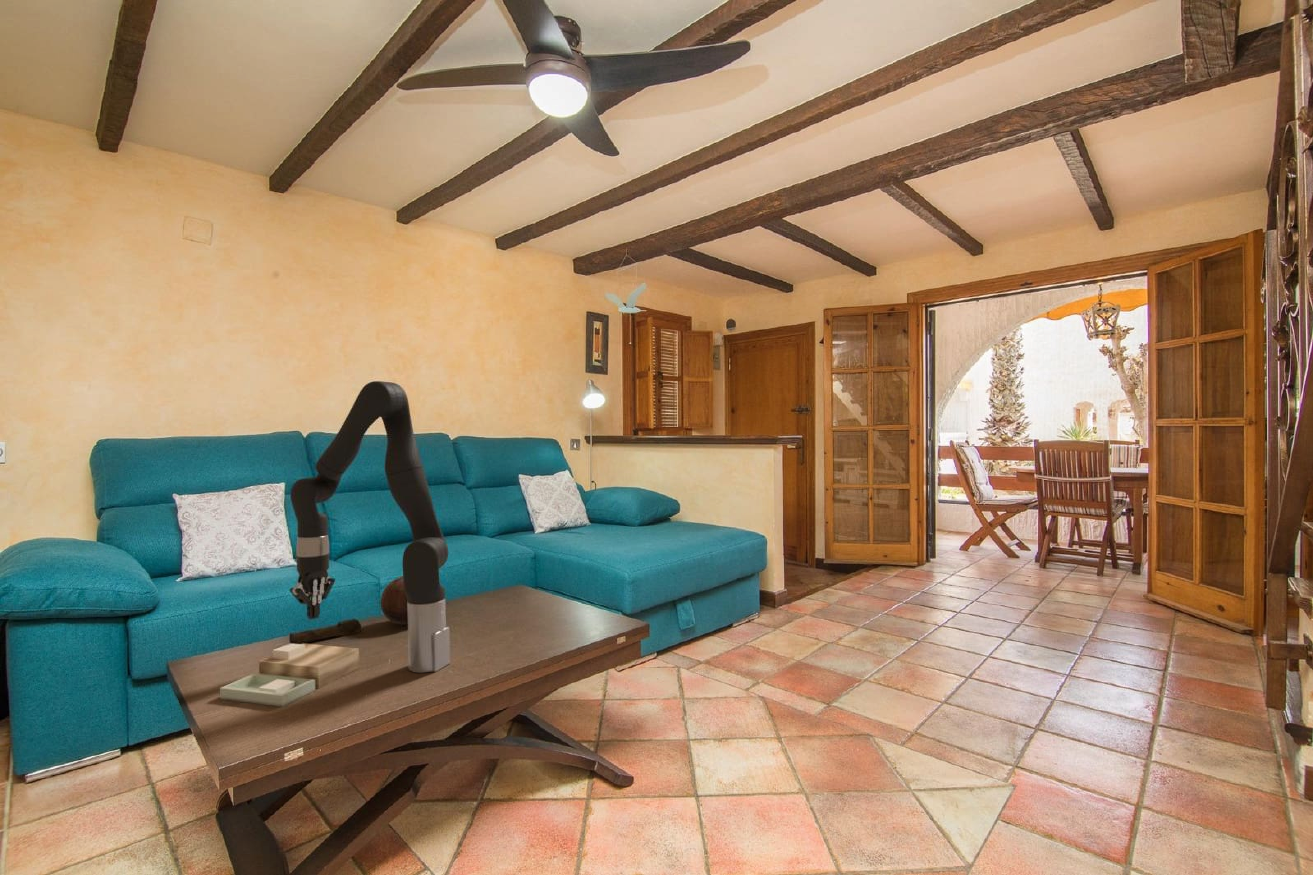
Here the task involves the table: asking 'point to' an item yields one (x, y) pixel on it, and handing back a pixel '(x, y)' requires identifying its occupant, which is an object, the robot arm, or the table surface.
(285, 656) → the tile far
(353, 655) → the light wood flat block
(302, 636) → the hand tool
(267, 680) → the tray
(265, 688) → the tile near
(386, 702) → the table surface
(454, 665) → the table surface
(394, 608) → the wooden sphere
